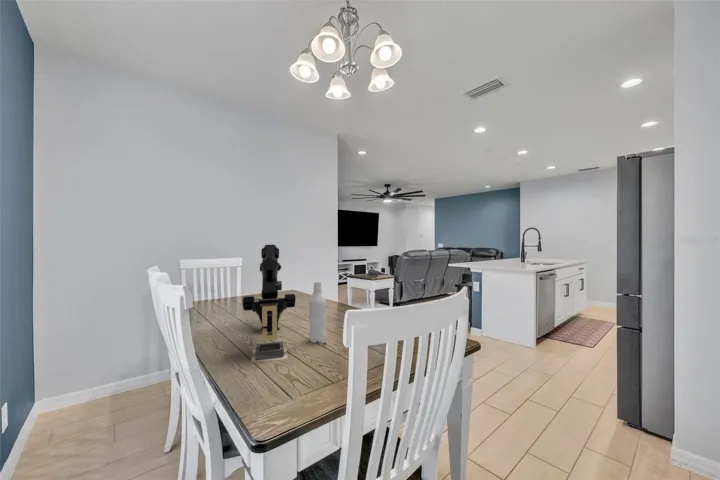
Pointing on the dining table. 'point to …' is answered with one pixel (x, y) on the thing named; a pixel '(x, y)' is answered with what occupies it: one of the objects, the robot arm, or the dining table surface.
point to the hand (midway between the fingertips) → (269, 322)
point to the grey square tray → (269, 352)
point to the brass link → (272, 308)
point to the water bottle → (317, 315)
